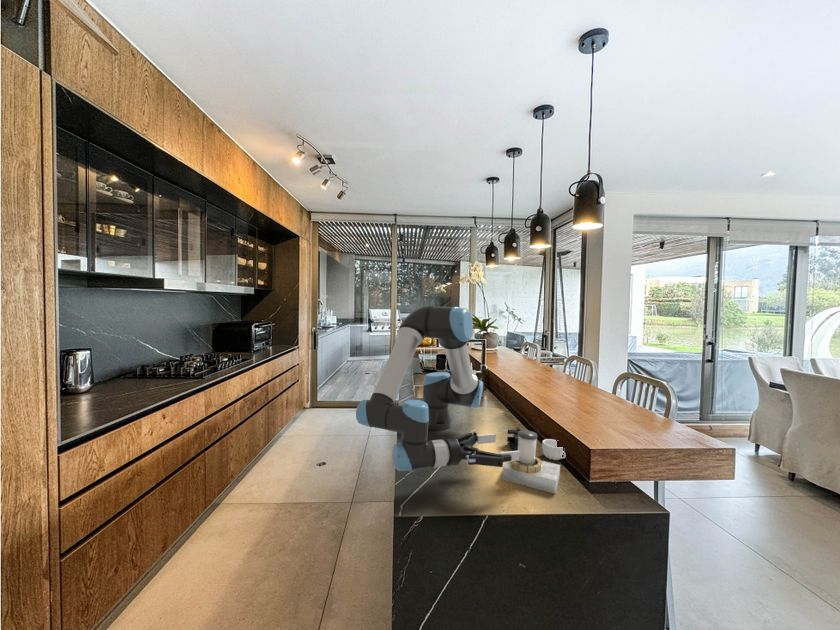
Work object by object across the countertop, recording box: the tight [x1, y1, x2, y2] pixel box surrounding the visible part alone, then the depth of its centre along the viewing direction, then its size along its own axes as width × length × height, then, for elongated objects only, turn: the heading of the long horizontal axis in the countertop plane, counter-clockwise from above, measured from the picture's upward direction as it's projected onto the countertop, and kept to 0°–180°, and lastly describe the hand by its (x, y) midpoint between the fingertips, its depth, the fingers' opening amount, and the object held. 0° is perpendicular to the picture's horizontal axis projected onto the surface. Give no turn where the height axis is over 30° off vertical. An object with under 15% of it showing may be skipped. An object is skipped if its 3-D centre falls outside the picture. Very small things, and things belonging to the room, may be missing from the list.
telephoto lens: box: [517, 429, 538, 466], centre depth 118 cm, size 6×6×10 cm
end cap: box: [506, 427, 523, 451], centre depth 141 cm, size 10×7×7 cm
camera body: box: [501, 456, 561, 494], centre depth 117 cm, size 16×12×6 cm
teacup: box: [541, 438, 567, 461], centre depth 133 cm, size 10×8×5 cm
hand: (506, 446), depth 115 cm, fingers open, 13 cm apart
